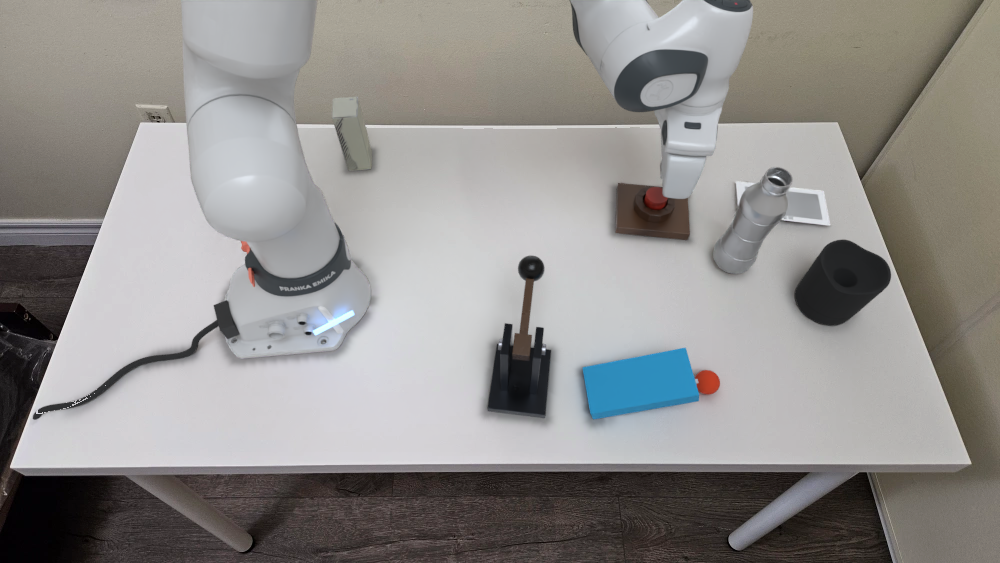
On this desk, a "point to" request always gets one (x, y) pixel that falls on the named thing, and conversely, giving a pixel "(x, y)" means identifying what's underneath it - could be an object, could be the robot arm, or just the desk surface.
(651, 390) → the blue block with knob
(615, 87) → the robot arm
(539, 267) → the lever
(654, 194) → the button
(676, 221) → the button block
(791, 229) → the desk surface
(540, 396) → the bracket
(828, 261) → the pen holder
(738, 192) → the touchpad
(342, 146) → the box
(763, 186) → the plastic bottle
